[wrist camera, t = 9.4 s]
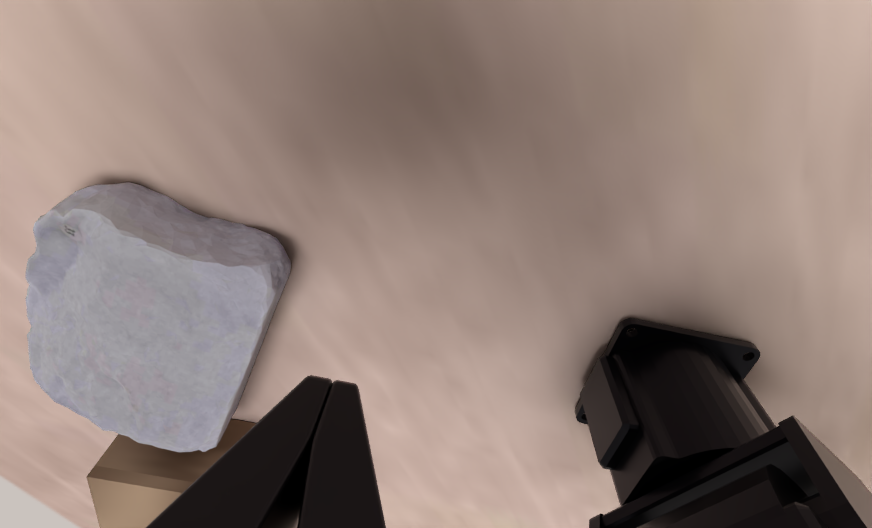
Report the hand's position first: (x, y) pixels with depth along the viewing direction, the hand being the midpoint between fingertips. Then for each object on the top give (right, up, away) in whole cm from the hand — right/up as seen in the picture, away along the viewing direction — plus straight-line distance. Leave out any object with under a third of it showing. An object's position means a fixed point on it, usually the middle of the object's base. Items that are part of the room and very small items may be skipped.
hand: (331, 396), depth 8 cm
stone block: (-11, +1, +15) cm, 18 cm away
